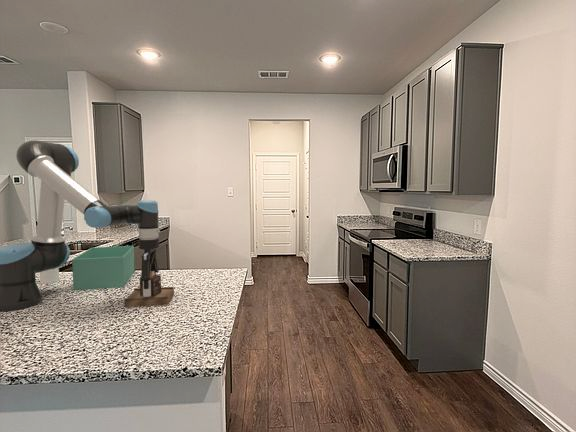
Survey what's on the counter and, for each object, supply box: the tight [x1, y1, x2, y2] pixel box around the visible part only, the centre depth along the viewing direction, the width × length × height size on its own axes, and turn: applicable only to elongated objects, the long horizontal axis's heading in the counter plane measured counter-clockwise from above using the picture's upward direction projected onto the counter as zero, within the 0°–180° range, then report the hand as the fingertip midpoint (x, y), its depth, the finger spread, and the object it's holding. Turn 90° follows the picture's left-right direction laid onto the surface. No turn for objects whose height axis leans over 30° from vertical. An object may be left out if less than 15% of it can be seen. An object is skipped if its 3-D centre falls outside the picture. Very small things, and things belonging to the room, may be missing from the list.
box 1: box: [71, 245, 135, 291], centre depth 164 cm, size 21×32×14 cm, turn 17°
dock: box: [123, 286, 175, 308], centre depth 134 cm, size 16×14×3 cm
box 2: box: [139, 274, 162, 296], centre depth 134 cm, size 6×6×7 cm
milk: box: [39, 267, 60, 285], centre depth 159 cm, size 6×6×22 cm
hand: (150, 292), depth 134 cm, fingers open, 10 cm apart
